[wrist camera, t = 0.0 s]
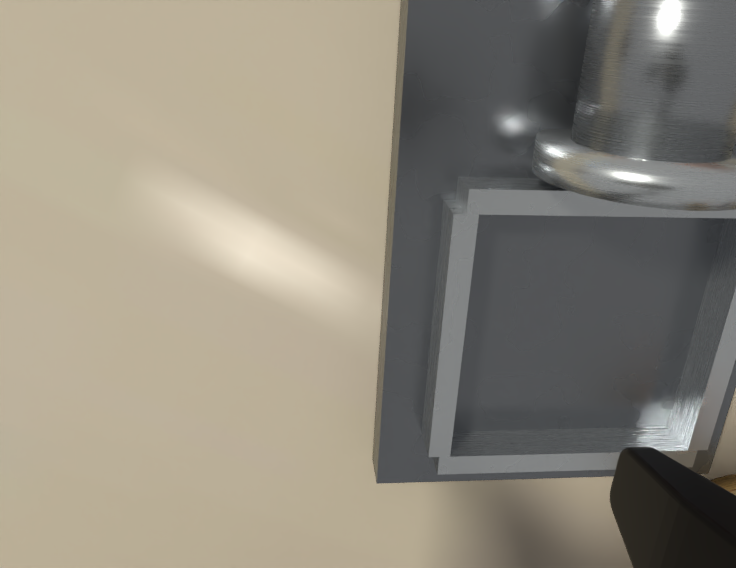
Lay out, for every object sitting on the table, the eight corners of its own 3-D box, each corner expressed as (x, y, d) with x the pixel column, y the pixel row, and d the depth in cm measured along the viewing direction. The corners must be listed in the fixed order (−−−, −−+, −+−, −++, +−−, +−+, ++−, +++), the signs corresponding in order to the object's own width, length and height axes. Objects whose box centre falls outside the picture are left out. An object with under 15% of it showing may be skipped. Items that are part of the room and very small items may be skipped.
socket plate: (688, 450, 29) (798, 577, 23) (372, 458, 27) (395, 596, 21) (840, -62, 21) (1073, -86, 15) (406, -91, 19) (459, -132, 13)
